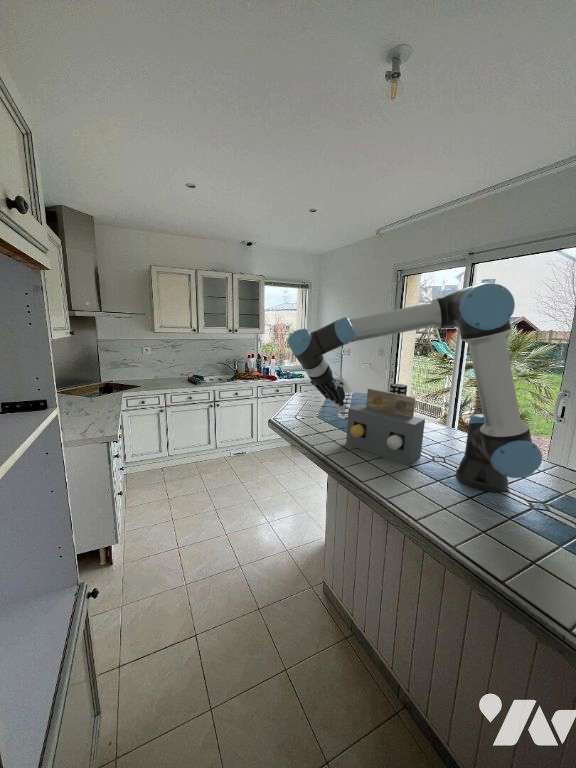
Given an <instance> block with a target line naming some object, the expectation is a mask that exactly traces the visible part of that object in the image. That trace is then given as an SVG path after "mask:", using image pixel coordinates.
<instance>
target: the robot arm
mask: <svg viewBox="0 0 576 768" xmlns="http://www.w3.org/2000/svg"><path fill="white" fill-rule="evenodd" d="M515 307H516V303H515V298H514V295H513V294H512V292H511V291H510V290H509V289H508V288H507V287H505V286H504V285H501V284H499V283H495V282H481V283H476V284H475V285H472V286H468V287H464V288H461V289H460V290H458V291H454V292H451V293H448V294H447V295H443V296H440V297H435V298H433V299H432V300H431V301H430V302H427V303H422V304H418V305H413V306H412V305H411V306H407V307H403V308H398V309H394V310H389V311H384V312H383V311H382V312H380V313H375V314H370V315H366V316H365V315H364V316H359V317H356V318H350V319H349V317H347V316H345V317H342V318H339V319H337V320H334V321H332V322H330V323H328V324H326V325H325V326H323V327H321V328H318V329H317V330H314V331H312V332H310V331H309V330H308V329H306V328H301V329H300V328H299V329H296V330H294V331H293V332H292V333H291V334H290V336H289V337H288V339H287V344H288V346H289V348H290V350H291V352H292V354H293V356H294V357H295V358H296V360H297V361H298V362H299V363H300V365H301V367H302V368H303V370H304V371H305V372H306V374H307V376H308V378H309V379H310V384H311V385H312V386H314V387H315V388H316V389H317V390H318V392H320V393H321V395H322V396H323V397H324V398H325V400H328V399H329V401H331V402H333V404H334V405H335V407H336V408H337V410H338V412H339V413H343V412H344V411H345V408H346V405H345V402H344V400H345V398H346V394H345V391H344V390H345V389H344V382H342V381H340V382H337V380H336V378H334V376H333V370H332V368H331V366H330V365H329V364H328V361H327V360H326V358H325V356H324V355H325V354H326V353H329V352H331V351H333V350H336V349H339V348H341V347H342V346H345V345H348V344H350V343H353V342H358V341H364V340H369V339H375V338H380V337H385V336H391V335H397V334H402V333H406V332H412V331H416V330H421V329H423V330H424V329H427V328H433V327H434V328H435V329H437V330H439V329H445V328H446V329H447V328H458V329H459V335H460V339H461V341H462V342H465V343H467V344H468V348H469V351H470V357H471V362H472V367H473V371H474V377H475V382H476V387H477V392H478V396H479V401H480V406H481V411H482V413H476V414H472V415H471V416H470V418H469V422H468V430H467V436H466V443H465V449H464V455H463V457H462V458H461V461H460V462H459V465H458V466H456V471H455V477H456V479H457V480H458V481H460V482H461V483H462V484H465V485H466V486H468V487H470V488H473V489H476V490H479V491H483V492H489V493H502V492H505V491H507V489H509V488H508V487H509V478H511V479H520V478H521V479H522V478H526V477H529V476H531V475H533V474H534V473H535V472H536V471H537V470H538V469H539V468H540V466H542V465H541V464H542V463H543V454H542V451H541V449H540V448H539V447H538V445H537V444H536V443H534V442H533V440H532V435H531V430H530V426H529V424H528V423H527V422H525V421H524V420H522V418H521V415H520V413H521V412H520V408H519V403H518V398H517V392H516V386H515V382H514V376H513V370H512V366H511V362H510V356H509V355H510V354H509V350H508V344H507V339H506V337H507V336H508V334H509V332H511V331H512V327H511V321H510V319H511V318H512V316H513V314H514V312H515Z"/></svg>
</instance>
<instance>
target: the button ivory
mask: <svg viewBox="0 0 576 768" xmlns="http://www.w3.org/2000/svg"><path fill="white" fill-rule="evenodd" d="M403 443H404V441H403V438H402V437H401V436H400V435H398V434H394V435H392V436H390V437H389V438H388V439H387V445H388V447H389V448H391V449H393V450H396V449H398V448H399V447H401V446H402V445H403Z"/></svg>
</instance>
